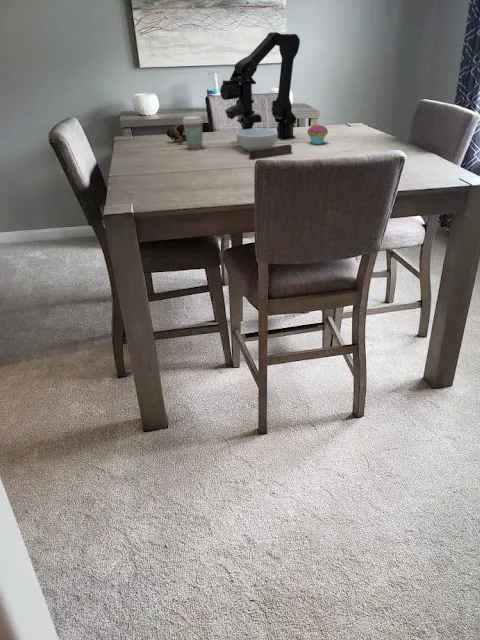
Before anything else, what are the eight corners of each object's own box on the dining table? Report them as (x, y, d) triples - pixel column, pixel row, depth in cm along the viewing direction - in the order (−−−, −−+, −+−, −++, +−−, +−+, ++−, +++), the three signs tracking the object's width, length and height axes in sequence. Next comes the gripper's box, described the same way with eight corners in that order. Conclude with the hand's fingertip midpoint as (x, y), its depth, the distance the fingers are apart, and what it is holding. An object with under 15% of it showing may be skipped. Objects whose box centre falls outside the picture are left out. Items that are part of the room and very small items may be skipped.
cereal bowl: (264, 156, 195) (263, 137, 191) (229, 152, 202) (228, 134, 198) (285, 147, 207) (285, 129, 203) (251, 144, 214) (251, 126, 210)
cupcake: (304, 144, 210) (305, 113, 203) (310, 140, 216) (311, 110, 210) (324, 145, 207) (325, 114, 200) (329, 141, 214) (331, 111, 207)
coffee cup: (188, 151, 207) (184, 119, 200) (183, 147, 213) (179, 116, 206) (207, 148, 209) (205, 117, 202) (202, 144, 216) (199, 114, 209)
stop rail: (289, 152, 200) (289, 144, 198) (291, 153, 198) (291, 145, 196) (248, 158, 193) (248, 150, 192) (250, 159, 192) (250, 151, 190)
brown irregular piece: (192, 140, 227) (194, 124, 220) (189, 154, 222) (191, 138, 215) (166, 133, 225) (167, 118, 218) (163, 147, 220) (163, 132, 213)
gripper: (218, 96, 206) (221, 136, 215) (236, 101, 192) (238, 144, 201) (242, 94, 210) (244, 133, 219) (261, 99, 196) (262, 141, 205)
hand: (246, 137), depth 211 cm, fingers closed
